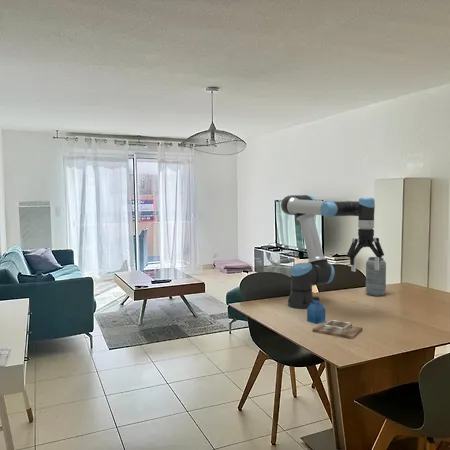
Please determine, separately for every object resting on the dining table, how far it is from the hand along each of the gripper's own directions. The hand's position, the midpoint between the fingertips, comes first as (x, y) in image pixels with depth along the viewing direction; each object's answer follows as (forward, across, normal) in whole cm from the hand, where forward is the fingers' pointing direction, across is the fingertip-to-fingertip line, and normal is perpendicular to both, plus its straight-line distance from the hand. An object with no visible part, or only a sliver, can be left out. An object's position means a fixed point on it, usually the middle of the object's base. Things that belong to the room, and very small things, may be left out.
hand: (365, 270), depth 209 cm
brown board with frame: (+23, -26, -17) cm, 39 cm away
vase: (+24, +35, +38) cm, 57 cm away
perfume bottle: (+24, -27, 0) cm, 36 cm away
